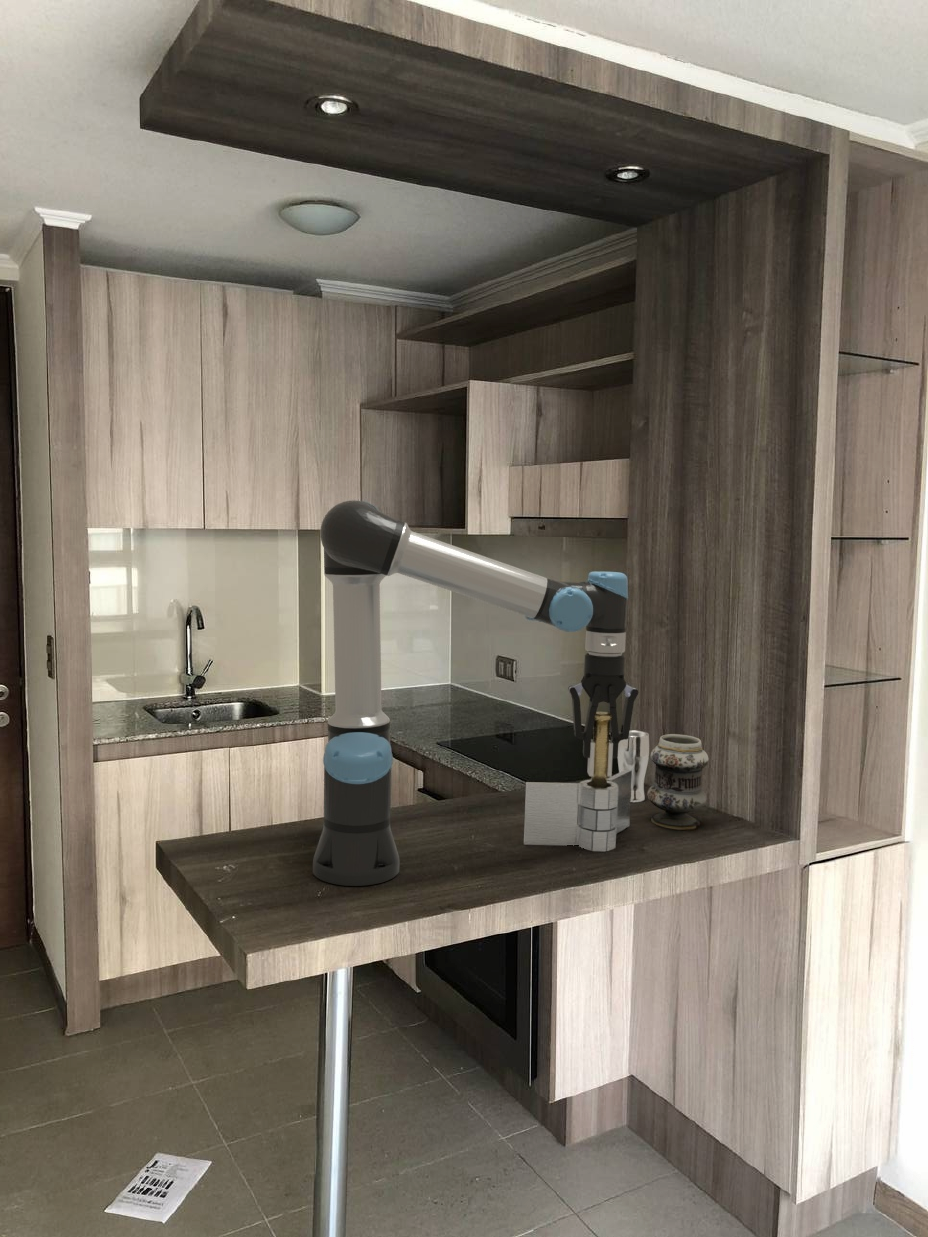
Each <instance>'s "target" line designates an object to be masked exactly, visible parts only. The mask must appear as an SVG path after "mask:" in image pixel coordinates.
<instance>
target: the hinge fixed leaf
mask: <svg viewBox="0 0 928 1237" xmlns="http://www.w3.org/2000/svg"><path fill="white" fill-rule="evenodd" d="M524 804H525V805H524V824H523V825H524V827H523V828H524V830H523V833H524V834H523V845H525V846H526V845H528V846H567V845H573V847H574V845H579V846H578V847H579V848H580V847H581V849H583V848H584V849H585V850H586V851H592V852H609V851H611V850H614V849H616V846H617V845H616V842H617V834H616V827H615V828H613V829H611V830H598V831H597V830H591V829H587V828H583V827H581V826H580V825H579V824H578V809H579V804H581V805H582V806H584V807H588V808H591V809H611V808H614V807H617V805H618V785H617V784H616V783H614V782H611V781H607V788H595V787H591V778H589V779H585V780H582V781H580V782H545V781H544V782H538V781H537V782H534V781H532V782H531V781H526V782H525V802H524Z"/></svg>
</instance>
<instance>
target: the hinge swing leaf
mask: <svg viewBox="0 0 928 1237" xmlns="http://www.w3.org/2000/svg"><path fill="white" fill-rule="evenodd" d="M631 778H632V770H627V769H626V770H624V771H622V772H620V773H619V772H618V773H615V774H613V775H612V777H607V781H611V782H614V783H616V784H617V785H618V805H617V807H614V808H611V809H591V808H588V807H584V806H582V805H581V804H578V814H577V825H578V824H579V825H580V826H581V827H583V828H587V829H591V830H597V831H598V830H611V829H613V828H615V827H616V835H618V833H620V832H622V831H624V830H625V829H626V828H627V829H628V828H629V827H630V816H631V812H630V811H631V802H630V798H631Z"/></svg>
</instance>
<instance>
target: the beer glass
mask: <svg viewBox="0 0 928 1237" xmlns="http://www.w3.org/2000/svg"><path fill="white" fill-rule="evenodd" d="M649 736H650V734H649V732H646V731H642V730H633V729H632V730H631V729H630V731H629V737H628V739H626V740H625V739H624V740H621V741H620V742H619V744H618V757H617V764H618V773H620V772H622V771H624V770H626V769H627V770H632V778H631V798H630V803H642V802H643V801H645V798H646V797H645V789H644V788H645V787H644V785H645V776H646V772H647V767H648V764H649V760H650V758H649V757H650V737H649Z"/></svg>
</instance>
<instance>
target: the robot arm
mask: <svg viewBox="0 0 928 1237" xmlns="http://www.w3.org/2000/svg"><path fill="white" fill-rule="evenodd" d="M319 533H320V541H321V544H322V547H323V568H324V570H323V572H324V573H323V574H324V577H325V578H326V579H327V580H328V581H330V583H331V584H332V599H333V602H332V604H333V605H332V606H333V650H334V656H333V657H334V695H335V696H334V698H335V699H334V703H335V711H334V713H333V714H332V715H331V716H330V717H329V718H328V719H327V743H326V744H325V747H324V753H323V759H322V763H323V766H324V770H323V772H324V773H323V774H324V775H323V782H324V783H323V827H322V830H321V835H320V837H319V841H318V843H317V846H316V849H315V853H314V855H313V859H312V874H313V875H314V876H315V877H316V878H317V879H319V880H320V881H322V882H325V883H329V884H333V885H338V886H346V887H347V886H348V887H349V886H350V887H358V886H359V887H363V886H371V885H376V884H381V883H384V882H387V881H390V880H391V879H393V878H395V877H397V875H398V874H399V872H400V856H399V852H398V849H397V845H396V842H395V838H394V836H393V832H392V830H391V806H392V803H391V802H392V766H393V761H394V758H393V756H394V755H393V753H392V746H391V726H390V725H391V724H390V723H391V722H390V717H389V716H388V715H387V714H386V713H385V712H384V711H383V710H382V709H383V708H382V660H381V659H382V657H381V656H382V655H381V654H382V652H381V650H382V649H381V648H382V647H381V644H382V643H381V601H380V600H381V595H380V594H381V592H380V591H381V590H380V589H381V588H380V584H381V581H382V582H383V580H384V579H385V578H386V577H389V576H392V575H394V574H400V575H402V576H405V577H409V578H412V579H415V580H418V581H420V582H424V583H426V584H430V585H433V586H434V587H435V586H436V587H438V588H440V589H444V590H447V591H450V592H453V593H457V594H459V595H462V596H465V597H467V598H471V599H473V600H477V601H480V602H483V603H486V604H488V605H491V606H495V607H498V608H500V609H503V610H506V611H509V612H513V613H515V614H517V615H518V614H519V615H522V616H524V617H525V619H526V620H527V621H533V622H535V621H536V622H539V623H544V624H547V625H550V626H553V627H555V628H557V629H558V630H561V631H564V632H570V633H571V632H572V633H573V632H579V631H580V630H582V629H584V628H585V627H586V628H585V644H584V646H585V647H584V650H585V651H586V653H585V655H584V667H583V668H584V669H583V677H582V678H581V681H580V682H579V683H578V684H575V685H569V686H568V688H567V689H568V692H569V694H570V696H571V705H572V723H573V733H574V737H576V739H579V740H582V755H583V757H584V758H585V759H587V775H588V776H589V777H591V776H593V775H594V753H595V742H593V738H592V737H593V731H594V722H595V715H596V712H598V707H599V703H606V705H607V712H608V713H609V714H610V715H612V720H611V721H610V728H609V736H610V739H609V743H608V764H607V778H610V777H612V776H613V773H612V772H613V759H617V760H618V744H619V742H620V741H621V740H624V739H625V740H626V739H628V737H629V731H630V730H631V723H632V719H633V718H632V717H633V712H634V710H633V709H634V704H635V703H634V702H635V700H636V699H637V697H638V695H639V690H638V689H637V688H636V687H633V686H630V685H628V684H627V682H626V679H625V660H626V657H625V655H624V654H623V653H625V652H626V635H627V634H626V633H627V617H628V616H627V614H628V613H627V612H628V603H629V602H628V601H629V588H628V587H629V583H628V582H629V580H628V576H627V575H626V574H625V573H623V572H619V571H617V572H616V571H603V570H602V571H596V570H595V571H590V572H589V573H588V577H587V579H586V581H580V582H579V581H578V582H577V581H557V580H553V579H550V578H548V577H545V576H542V575H539V574H537V573H533V572H530V571H527V570H525V569H522V568H520V567H519V568H518V567H516V566H513V565H511V564H508V563H505V562H501V561H499V560H496V559H493V558H491V557H487V556H485V555H483V554H482V555H481V554H480V553H479V554H478V553H476V552H474V551H473V552H472V551H471V550H470V551H469V550H467V549H465V548H462V547H458V546H456V545H452V544H451V543H448V542H447V543H446V542H444V541H441V540H439V539H435V538H433V537H431V536H430V537H429V536H426V535H424V534H421V533H418V532H415V531H412V530H411V528H410V527H409V525H408V523H407V522H405V521H401V520H399V519H396V518H393V517H391V516H389V515H387V514H385V513H384V512H381V511H380V510H379V509H378V508H377V507H376V506H375V505H373V504H371V503H369V502H367V501H364V500H356V499H352V500H346V501H342V502H339V503H337V504H335V505H334V506H333V507H331V508H330V509H329V511H328V512H327V513H326V515H325V516H324V517H323V520H322V522H321V526H320V532H319ZM582 690H584V691H585V693H586V695H587V696H588V697H589V700H588V708H587V714H586V719H585V724H584V729H582V712H581V709H582V708H581V700H580V697H581V696H582ZM623 692H624V696H625V699H624V703H623V704H624V706H623V713H622V720H621V726H620V731H619V724H618V723H619V722H618V713H617V712H618V711H617V699H618V698H619V696H620V695H621V694H622V693H623Z"/></svg>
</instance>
